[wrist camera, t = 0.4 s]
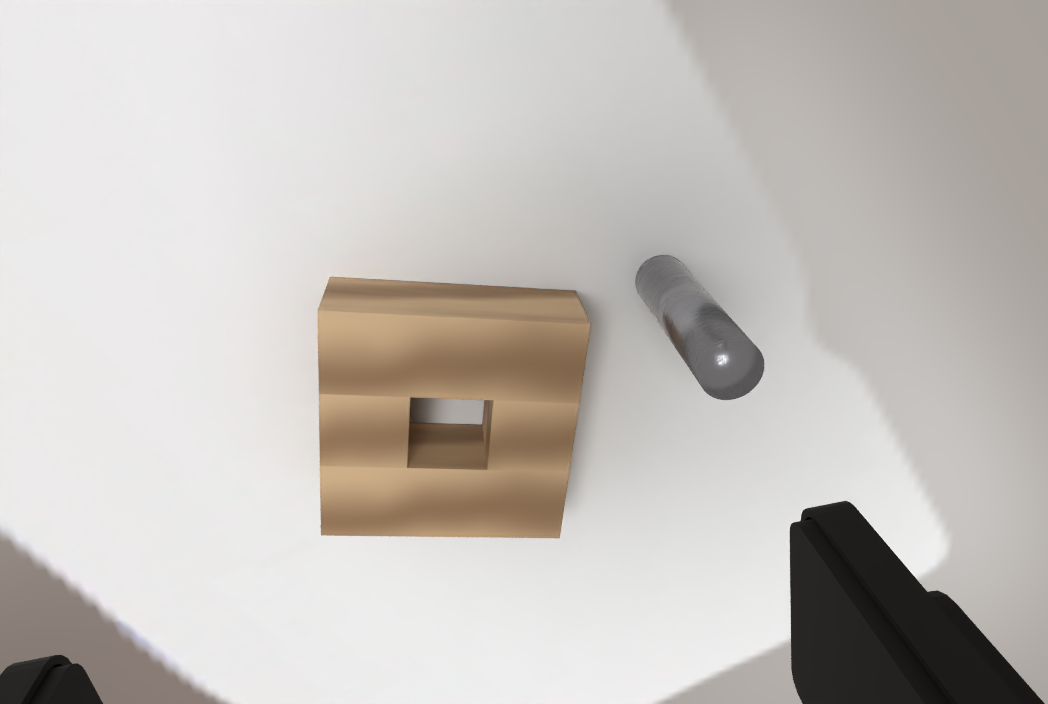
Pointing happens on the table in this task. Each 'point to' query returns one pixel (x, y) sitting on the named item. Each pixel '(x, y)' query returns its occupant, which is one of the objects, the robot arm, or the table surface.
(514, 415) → the hole block
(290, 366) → the table surface
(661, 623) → the table surface
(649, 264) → the peg
